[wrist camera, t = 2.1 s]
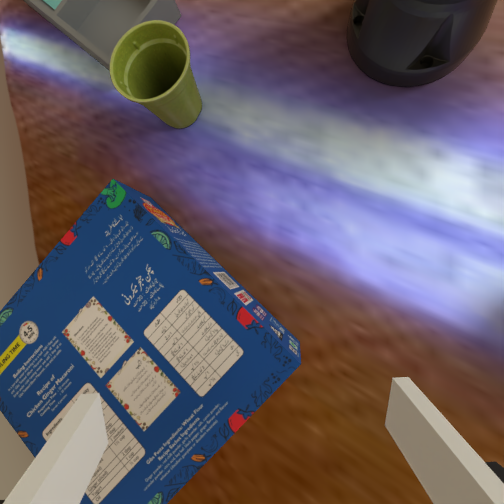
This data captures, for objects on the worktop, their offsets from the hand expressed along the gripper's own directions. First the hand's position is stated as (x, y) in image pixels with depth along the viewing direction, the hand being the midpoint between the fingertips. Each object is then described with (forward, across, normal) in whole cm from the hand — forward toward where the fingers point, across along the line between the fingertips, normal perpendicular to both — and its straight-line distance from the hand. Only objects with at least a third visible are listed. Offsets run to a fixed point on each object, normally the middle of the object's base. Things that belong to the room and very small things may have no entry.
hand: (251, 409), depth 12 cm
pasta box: (+14, -3, -18) cm, 23 cm away
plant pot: (+32, -8, +20) cm, 39 cm away
